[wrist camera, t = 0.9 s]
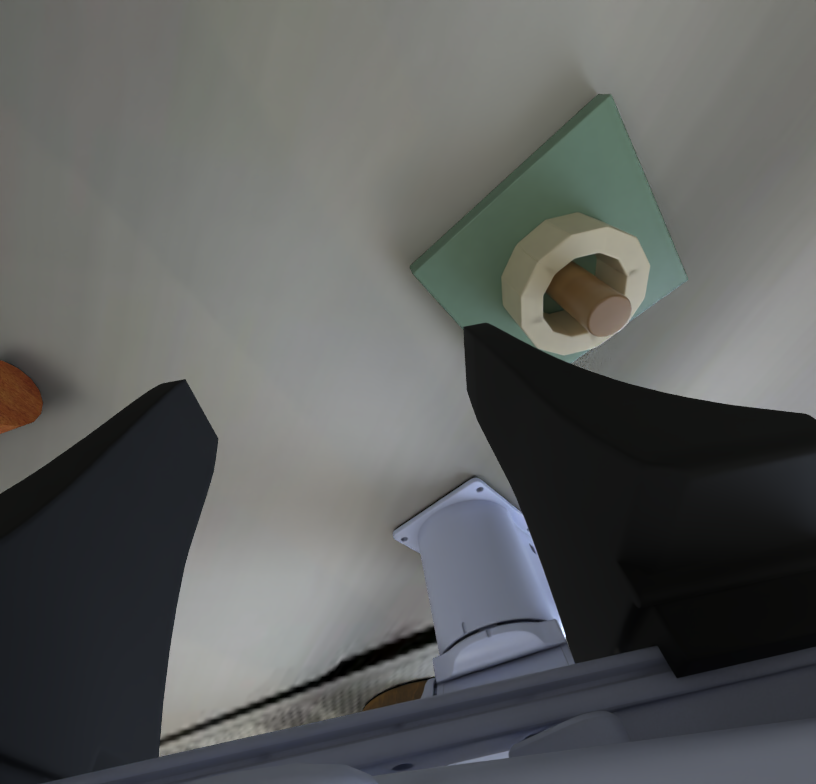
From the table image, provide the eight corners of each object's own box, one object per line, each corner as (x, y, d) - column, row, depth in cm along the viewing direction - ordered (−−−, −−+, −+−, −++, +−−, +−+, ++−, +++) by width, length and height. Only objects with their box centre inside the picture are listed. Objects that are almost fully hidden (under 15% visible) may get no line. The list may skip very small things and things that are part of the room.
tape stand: (675, 273, 21) (764, 317, 17) (517, 387, 24) (558, 451, 20) (598, 93, 16) (696, 90, 12) (408, 266, 19) (431, 316, 15)
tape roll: (633, 278, 20) (666, 298, 18) (537, 349, 22) (558, 375, 20) (585, 184, 17) (618, 195, 15) (478, 275, 19) (496, 295, 17)
